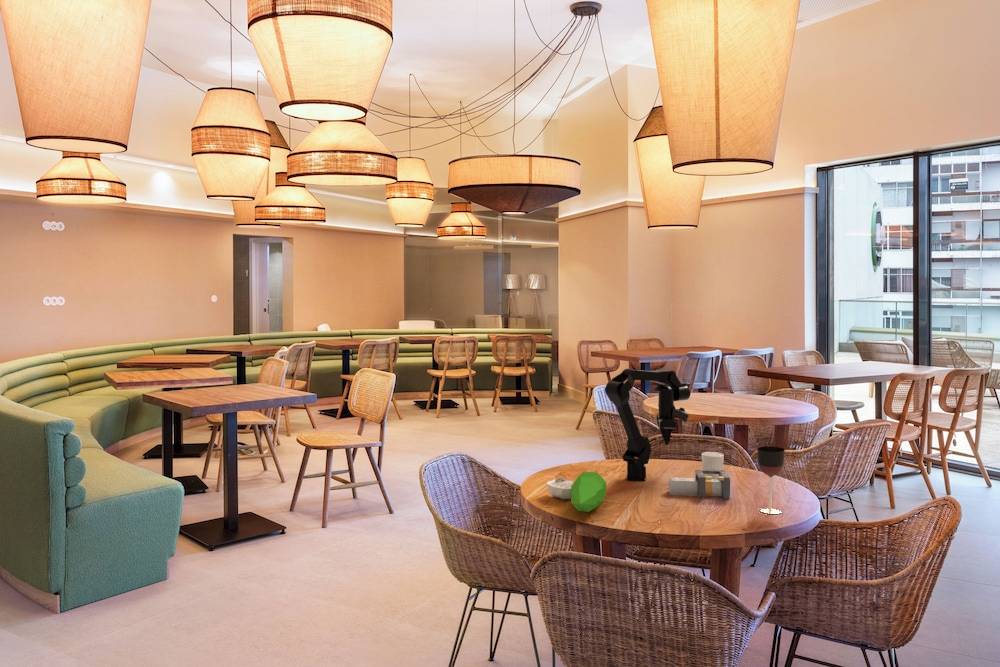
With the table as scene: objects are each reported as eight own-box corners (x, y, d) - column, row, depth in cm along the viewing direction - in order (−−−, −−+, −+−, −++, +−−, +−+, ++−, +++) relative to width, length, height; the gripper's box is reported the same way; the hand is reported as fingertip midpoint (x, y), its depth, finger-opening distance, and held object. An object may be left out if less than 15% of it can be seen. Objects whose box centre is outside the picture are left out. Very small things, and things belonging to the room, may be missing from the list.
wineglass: (788, 511, 233) (789, 448, 232) (777, 517, 227) (777, 453, 226) (763, 506, 238) (764, 445, 237) (752, 512, 232) (752, 449, 231)
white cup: (726, 483, 268) (726, 456, 267) (704, 483, 268) (704, 456, 267) (720, 478, 276) (720, 451, 275) (699, 478, 276) (699, 451, 275)
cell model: (554, 504, 243) (554, 483, 243) (542, 494, 254) (542, 475, 254) (583, 501, 246) (583, 481, 245) (570, 492, 257) (570, 473, 257)
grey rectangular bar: (670, 494, 253) (670, 480, 253) (668, 491, 257) (669, 477, 257) (730, 496, 250) (730, 482, 250) (727, 493, 255) (727, 478, 254)
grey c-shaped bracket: (699, 498, 249) (699, 476, 248) (695, 489, 259) (695, 469, 259) (729, 498, 247) (730, 477, 247) (724, 490, 258) (724, 470, 258)
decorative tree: (602, 462, 249) (590, 480, 220) (615, 494, 248) (604, 516, 219) (571, 473, 252) (555, 492, 223) (584, 504, 251) (569, 528, 222)
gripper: (690, 406, 272) (690, 447, 273) (684, 399, 291) (684, 438, 291) (660, 405, 273) (659, 447, 274) (655, 398, 292) (655, 437, 293)
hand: (665, 442), depth 283 cm, fingers open, 9 cm apart
